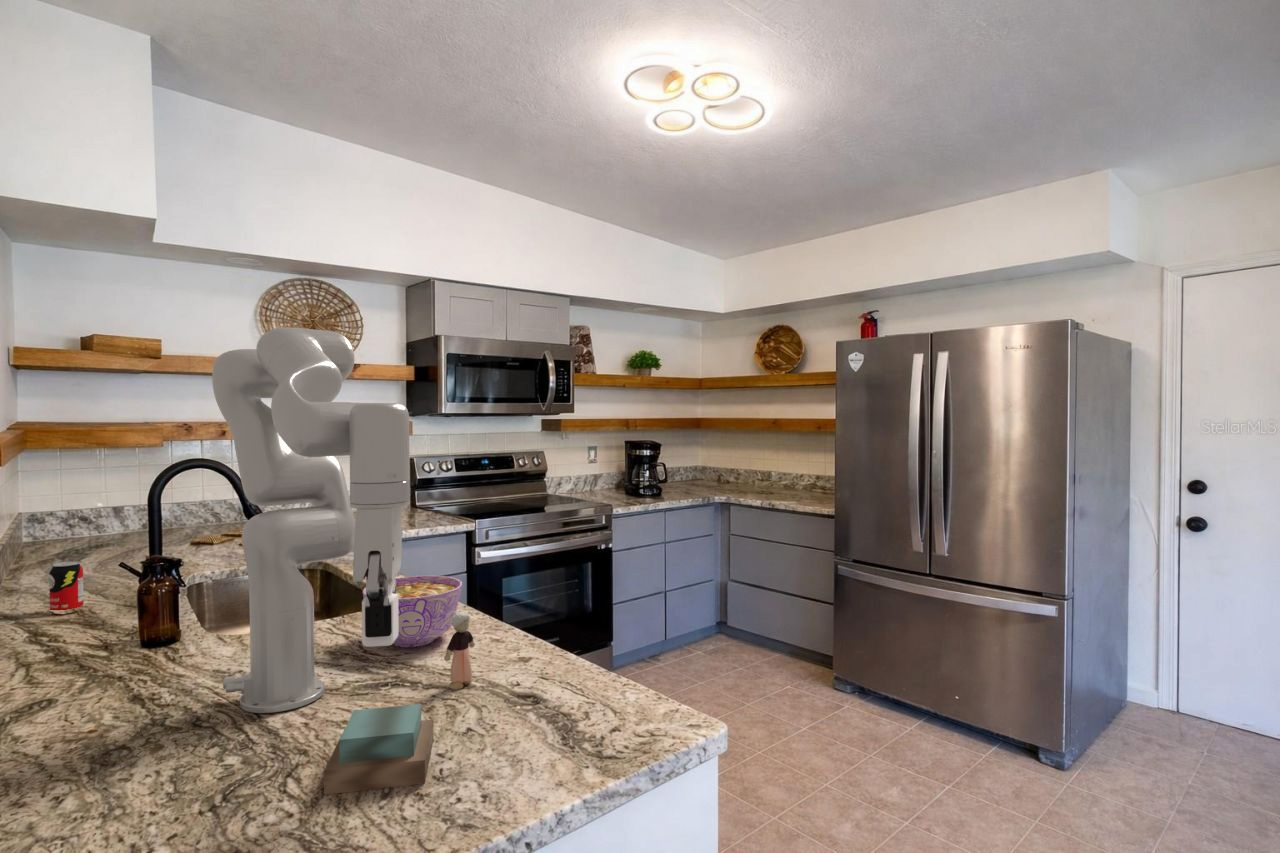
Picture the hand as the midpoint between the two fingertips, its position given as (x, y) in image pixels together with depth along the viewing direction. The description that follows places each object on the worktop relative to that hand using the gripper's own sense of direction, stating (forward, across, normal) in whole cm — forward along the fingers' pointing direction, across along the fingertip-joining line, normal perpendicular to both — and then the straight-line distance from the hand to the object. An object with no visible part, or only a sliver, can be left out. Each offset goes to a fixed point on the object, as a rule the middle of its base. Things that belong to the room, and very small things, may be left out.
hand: (381, 629), depth 91 cm
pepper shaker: (+2, 0, 0) cm, 2 cm away
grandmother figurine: (+19, -27, +9) cm, 34 cm away
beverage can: (+19, -95, -88) cm, 131 cm away
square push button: (+18, 0, 0) cm, 18 cm away
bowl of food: (+19, -53, -2) cm, 56 cm away
